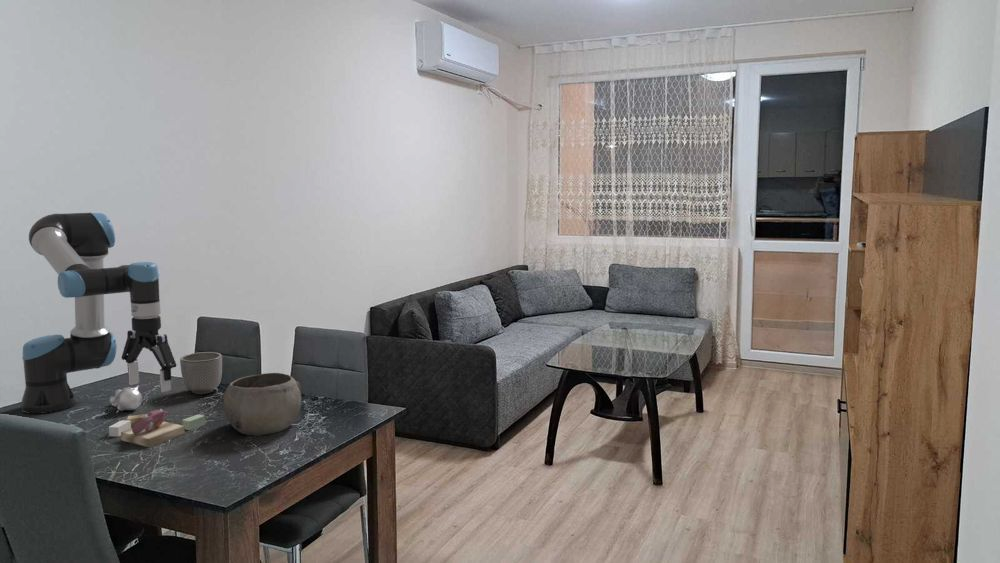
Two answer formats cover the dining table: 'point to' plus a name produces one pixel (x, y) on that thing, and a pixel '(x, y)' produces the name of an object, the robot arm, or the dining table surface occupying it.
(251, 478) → the dining table surface
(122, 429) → the brick white
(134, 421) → the brick beech
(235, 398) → the bowl
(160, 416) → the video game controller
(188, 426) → the brick sage
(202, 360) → the planter
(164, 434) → the maple slab
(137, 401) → the figurine
